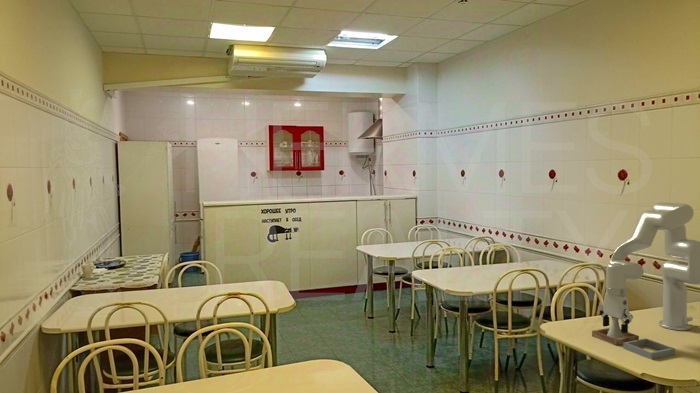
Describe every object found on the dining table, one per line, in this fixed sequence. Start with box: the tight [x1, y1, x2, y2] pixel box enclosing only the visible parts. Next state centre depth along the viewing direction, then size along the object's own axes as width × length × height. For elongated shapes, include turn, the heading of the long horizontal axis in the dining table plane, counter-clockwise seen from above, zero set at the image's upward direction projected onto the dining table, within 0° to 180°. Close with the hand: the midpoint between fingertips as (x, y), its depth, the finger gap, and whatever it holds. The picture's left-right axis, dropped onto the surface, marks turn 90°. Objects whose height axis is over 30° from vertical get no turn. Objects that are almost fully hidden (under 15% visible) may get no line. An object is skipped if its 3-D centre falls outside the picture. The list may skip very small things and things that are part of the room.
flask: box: [607, 316, 624, 339], centre depth 220 cm, size 7×7×10 cm
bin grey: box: [622, 338, 676, 360], centre depth 205 cm, size 13×13×2 cm
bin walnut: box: [591, 327, 640, 346], centre depth 220 cm, size 13×13×2 cm
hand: (615, 329), depth 220 cm, fingers open, 9 cm apart
